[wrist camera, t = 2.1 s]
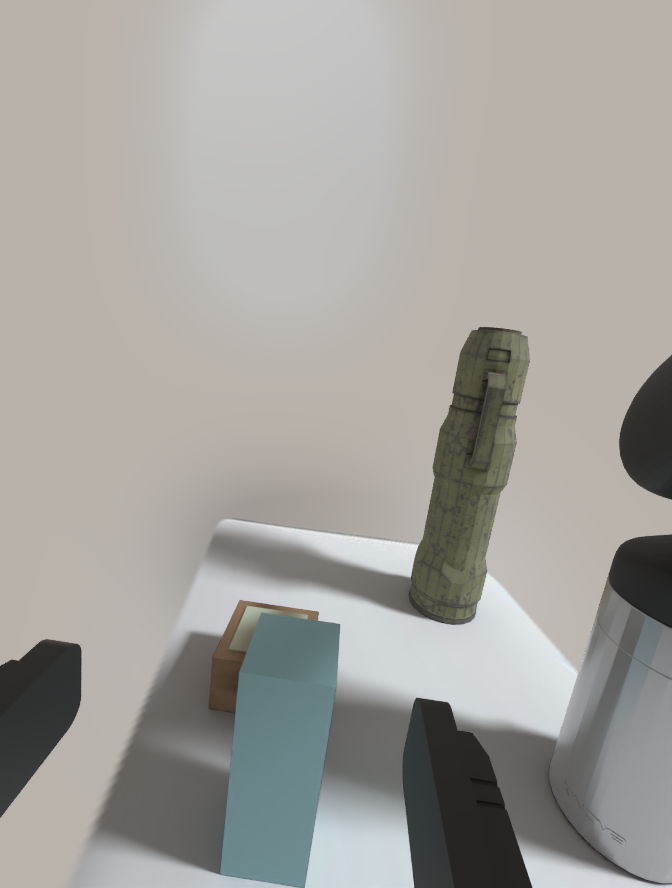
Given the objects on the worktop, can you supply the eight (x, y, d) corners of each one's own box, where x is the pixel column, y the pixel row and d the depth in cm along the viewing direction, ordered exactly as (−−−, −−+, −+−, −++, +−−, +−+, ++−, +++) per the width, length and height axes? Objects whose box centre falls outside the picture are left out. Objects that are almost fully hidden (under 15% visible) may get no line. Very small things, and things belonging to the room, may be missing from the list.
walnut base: (312, 654, 43) (319, 610, 41) (303, 722, 35) (310, 670, 34) (235, 643, 43) (239, 598, 42) (208, 708, 35) (213, 655, 34)
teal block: (313, 798, 29) (340, 624, 26) (304, 888, 24) (336, 687, 21) (242, 787, 29) (261, 612, 26) (220, 874, 24) (239, 672, 21)
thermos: (413, 626, 49) (474, 321, 41) (404, 574, 61) (450, 327, 53) (488, 639, 49) (563, 333, 41) (465, 584, 60) (520, 337, 53)
